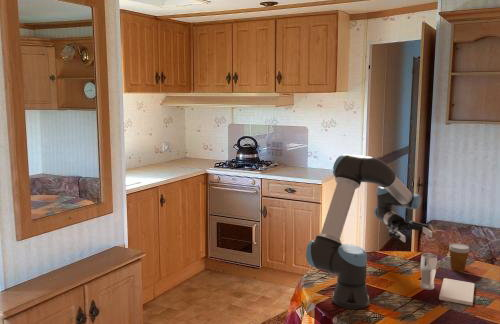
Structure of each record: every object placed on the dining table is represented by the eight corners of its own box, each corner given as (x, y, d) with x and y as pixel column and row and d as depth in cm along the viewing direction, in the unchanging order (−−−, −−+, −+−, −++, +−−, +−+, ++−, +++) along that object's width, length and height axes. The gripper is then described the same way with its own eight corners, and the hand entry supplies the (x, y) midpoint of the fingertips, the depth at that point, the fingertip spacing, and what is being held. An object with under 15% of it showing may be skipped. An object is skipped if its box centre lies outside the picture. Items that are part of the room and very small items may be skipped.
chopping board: (472, 305, 196) (472, 302, 196) (438, 299, 202) (439, 296, 202) (474, 286, 215) (474, 283, 215) (443, 281, 221) (443, 278, 221)
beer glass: (436, 291, 210) (439, 258, 208) (420, 289, 212) (422, 257, 209) (433, 284, 217) (436, 253, 215) (418, 283, 218) (420, 252, 216)
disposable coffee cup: (469, 268, 238) (471, 245, 236) (466, 274, 230) (468, 250, 228) (449, 264, 243) (450, 241, 241) (445, 270, 235) (447, 247, 233)
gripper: (416, 224, 241) (442, 240, 220) (371, 232, 235) (393, 249, 215) (416, 210, 239) (442, 225, 219) (371, 217, 234) (393, 233, 214)
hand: (418, 237), depth 217 cm, fingers open, 13 cm apart
